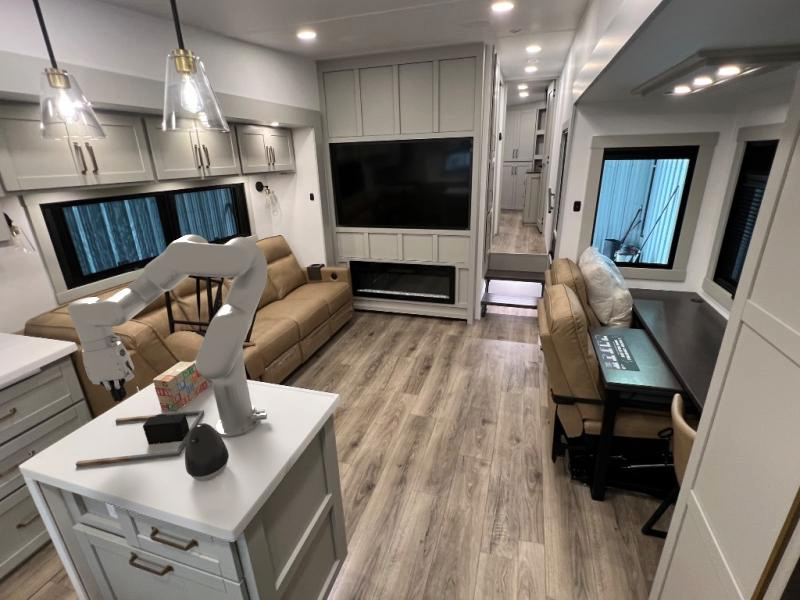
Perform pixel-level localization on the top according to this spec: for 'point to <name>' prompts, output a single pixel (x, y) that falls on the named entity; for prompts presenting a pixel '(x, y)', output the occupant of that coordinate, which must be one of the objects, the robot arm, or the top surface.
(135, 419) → the shelf lane
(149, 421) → the digital camera
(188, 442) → the black rounded mouse
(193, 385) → the stack of blocks
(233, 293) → the robot arm
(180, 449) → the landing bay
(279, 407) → the top surface
